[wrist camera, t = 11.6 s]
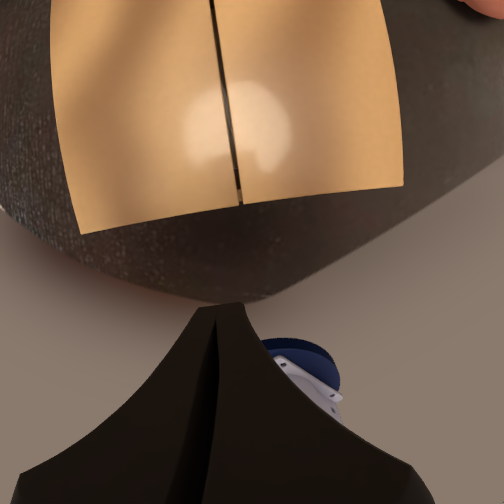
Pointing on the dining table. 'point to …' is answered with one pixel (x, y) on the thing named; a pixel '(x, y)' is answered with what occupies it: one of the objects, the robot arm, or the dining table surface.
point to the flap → (310, 96)
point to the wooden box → (141, 110)
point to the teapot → (487, 7)
